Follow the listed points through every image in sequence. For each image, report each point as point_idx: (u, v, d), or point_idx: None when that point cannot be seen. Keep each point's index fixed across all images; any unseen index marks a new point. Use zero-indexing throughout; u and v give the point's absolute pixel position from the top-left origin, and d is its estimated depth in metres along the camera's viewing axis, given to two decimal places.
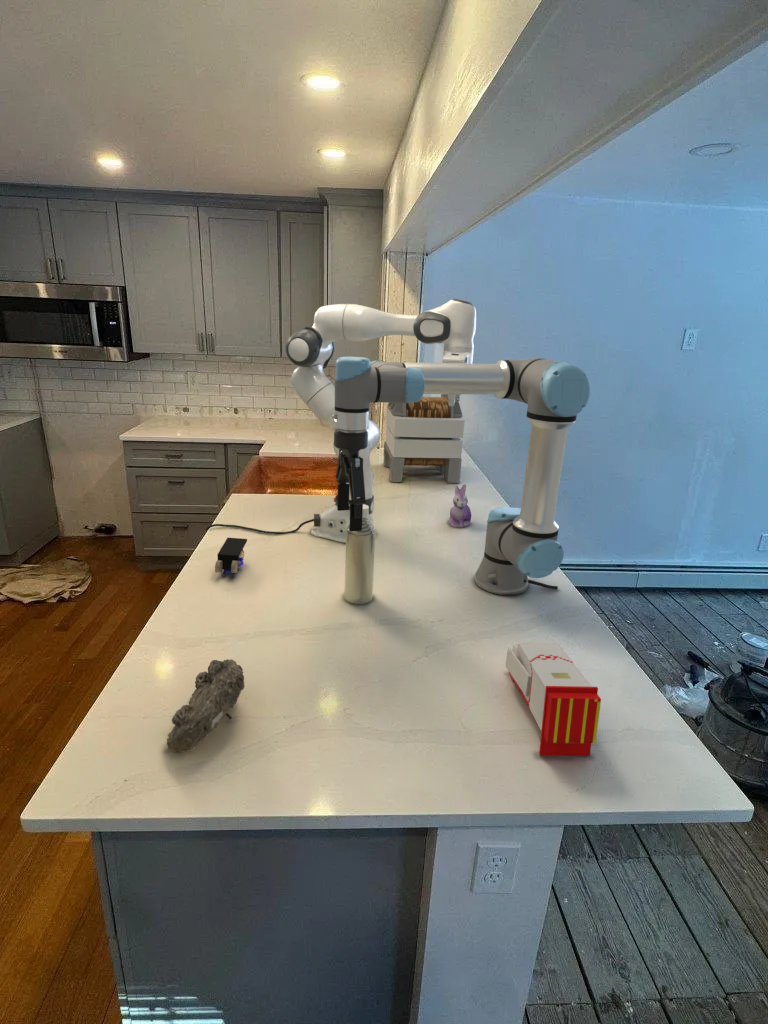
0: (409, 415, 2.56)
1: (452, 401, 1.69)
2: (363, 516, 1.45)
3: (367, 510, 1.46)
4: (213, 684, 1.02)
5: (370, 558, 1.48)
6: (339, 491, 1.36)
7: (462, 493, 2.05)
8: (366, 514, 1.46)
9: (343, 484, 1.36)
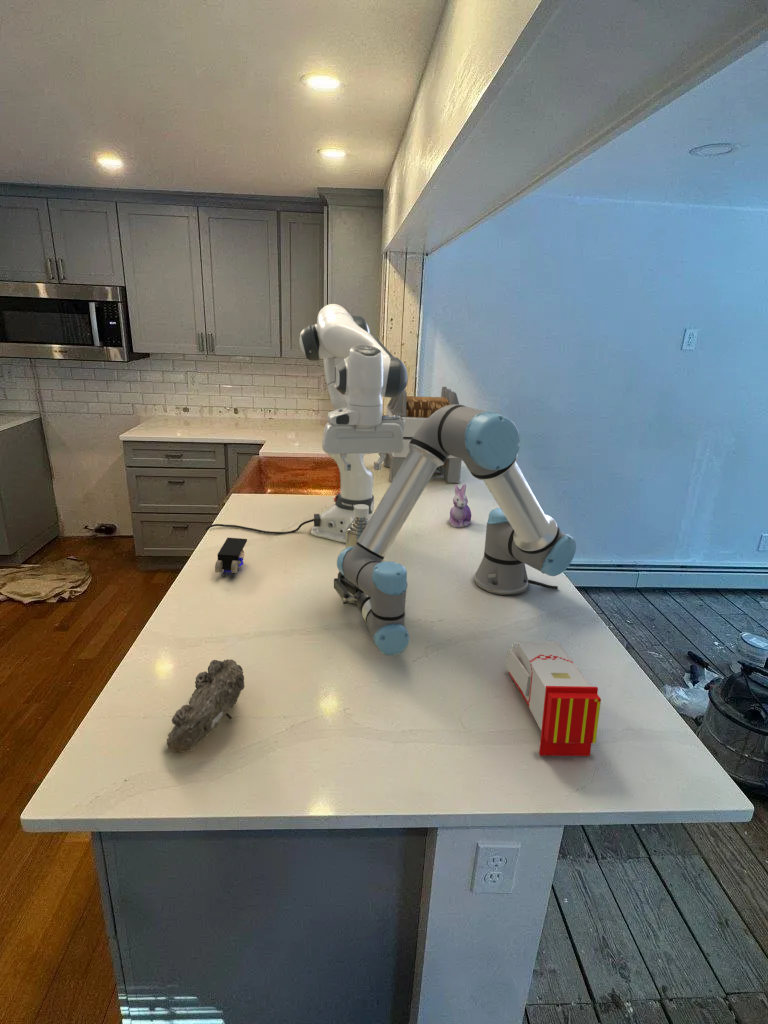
0: (409, 415, 2.56)
1: (344, 465, 1.41)
2: (363, 516, 1.45)
3: (367, 510, 1.46)
4: (213, 684, 1.02)
5: None
6: None
7: (462, 493, 2.05)
8: (366, 514, 1.46)
9: None
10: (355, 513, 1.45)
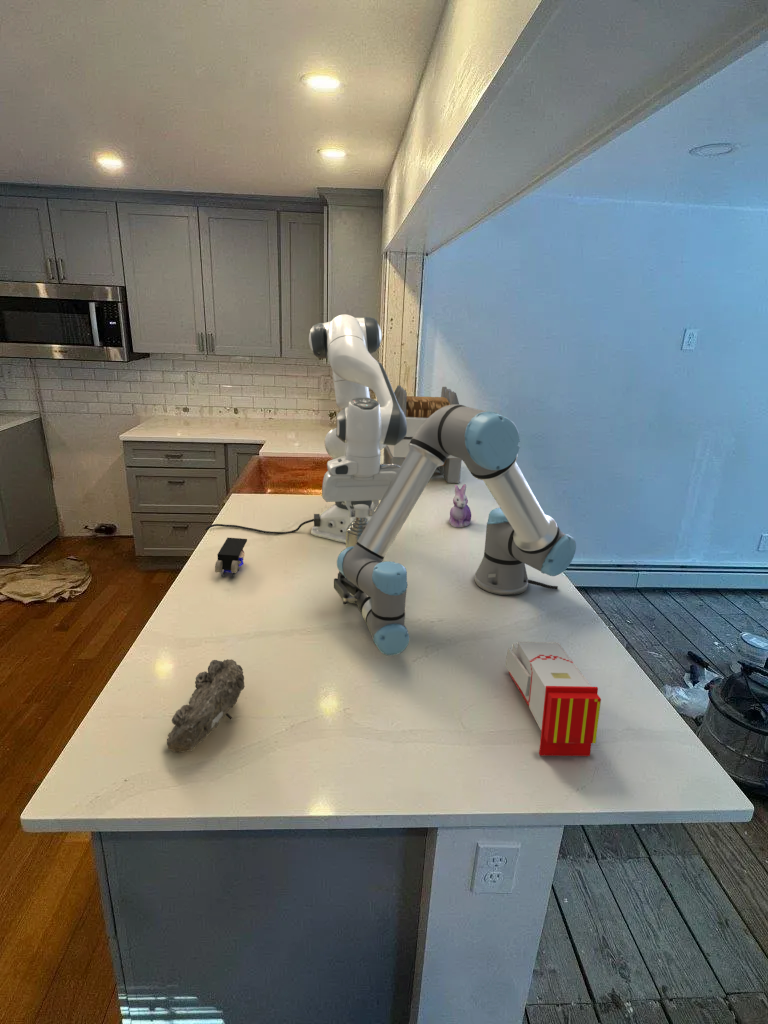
0: (409, 415, 2.56)
1: (349, 511, 1.46)
2: (363, 516, 1.45)
3: (367, 510, 1.46)
4: (213, 684, 1.02)
5: None
6: None
7: (462, 493, 2.05)
8: (366, 514, 1.46)
9: None
10: (355, 513, 1.45)
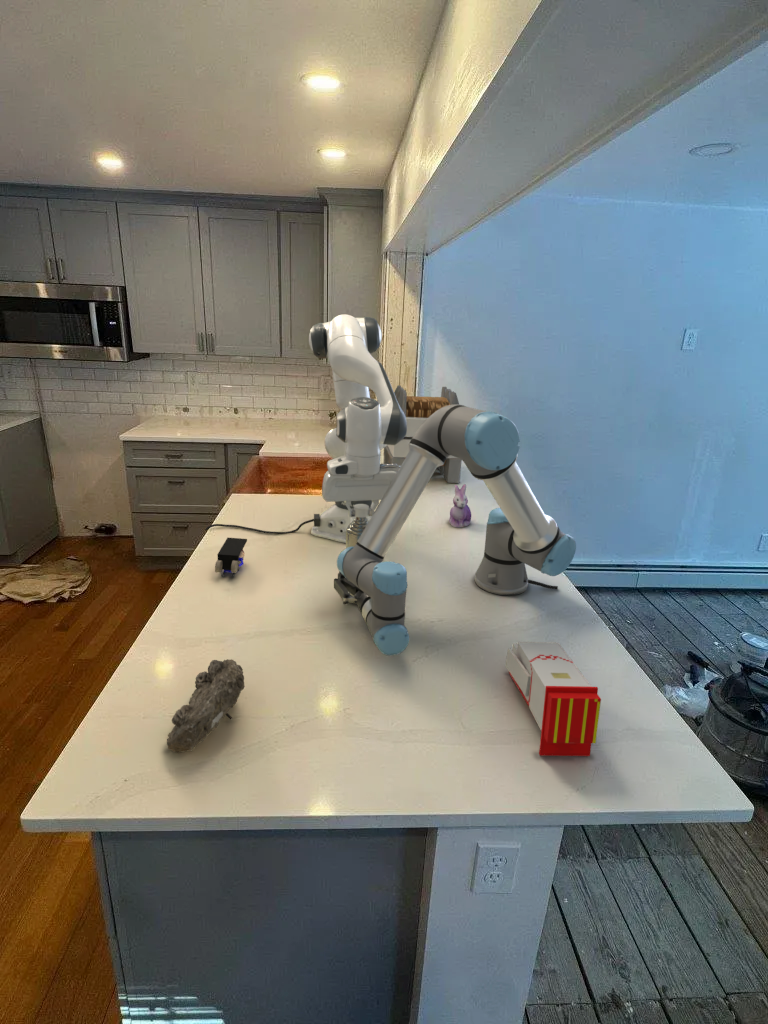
0: (409, 415, 2.56)
1: (349, 511, 1.46)
2: (368, 513, 1.47)
3: None
4: (213, 684, 1.02)
5: None
6: None
7: (462, 493, 2.05)
8: None
9: None
10: (364, 514, 1.45)
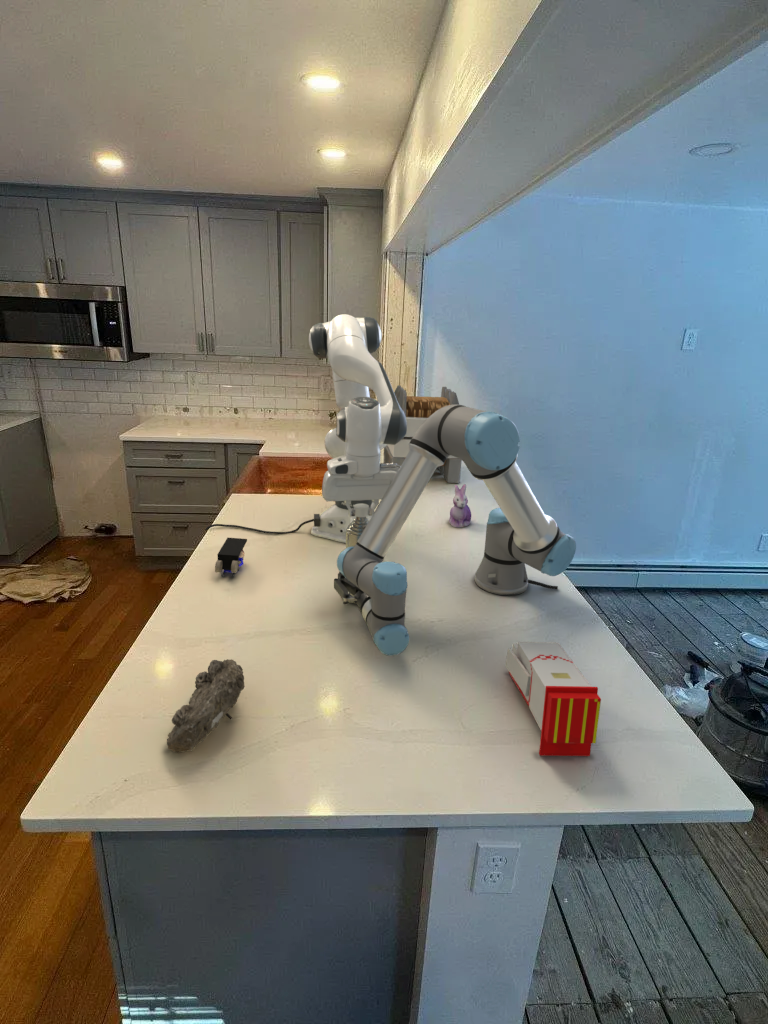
0: (409, 415, 2.56)
1: (349, 511, 1.45)
2: None
3: None
4: (213, 684, 1.02)
5: None
6: None
7: (462, 493, 2.05)
8: None
9: None
10: (368, 511, 1.47)
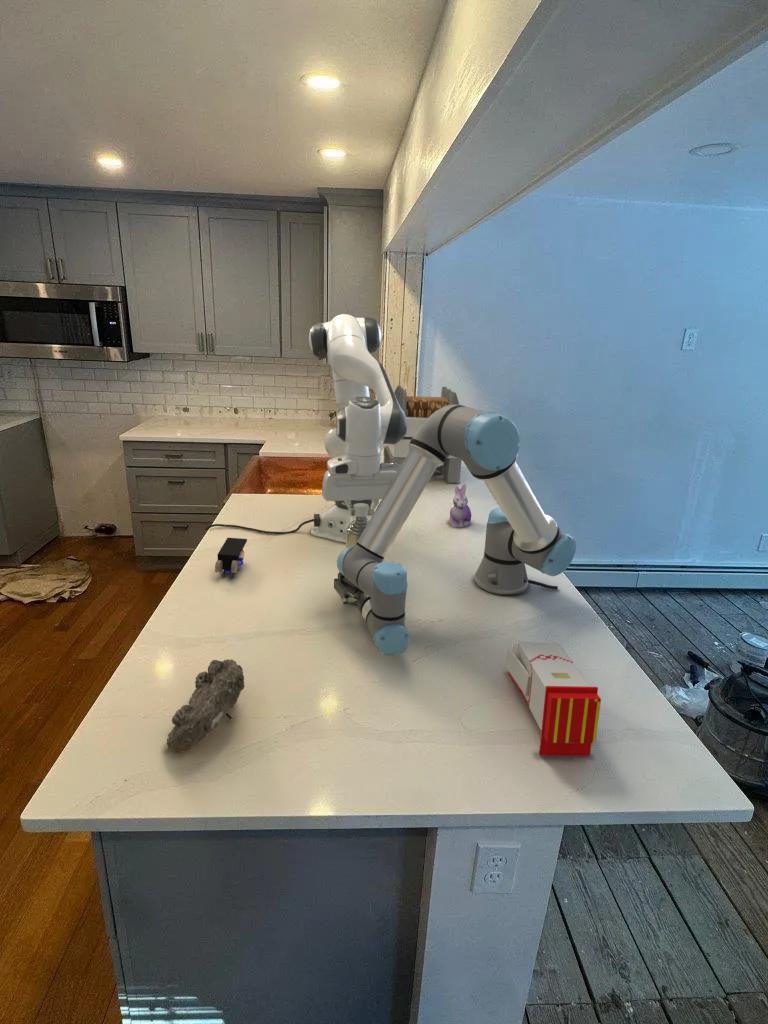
0: (409, 415, 2.56)
1: (349, 510, 1.45)
2: None
3: (354, 507, 1.46)
4: (213, 684, 1.02)
5: None
6: None
7: (462, 493, 2.05)
8: None
9: None
10: None
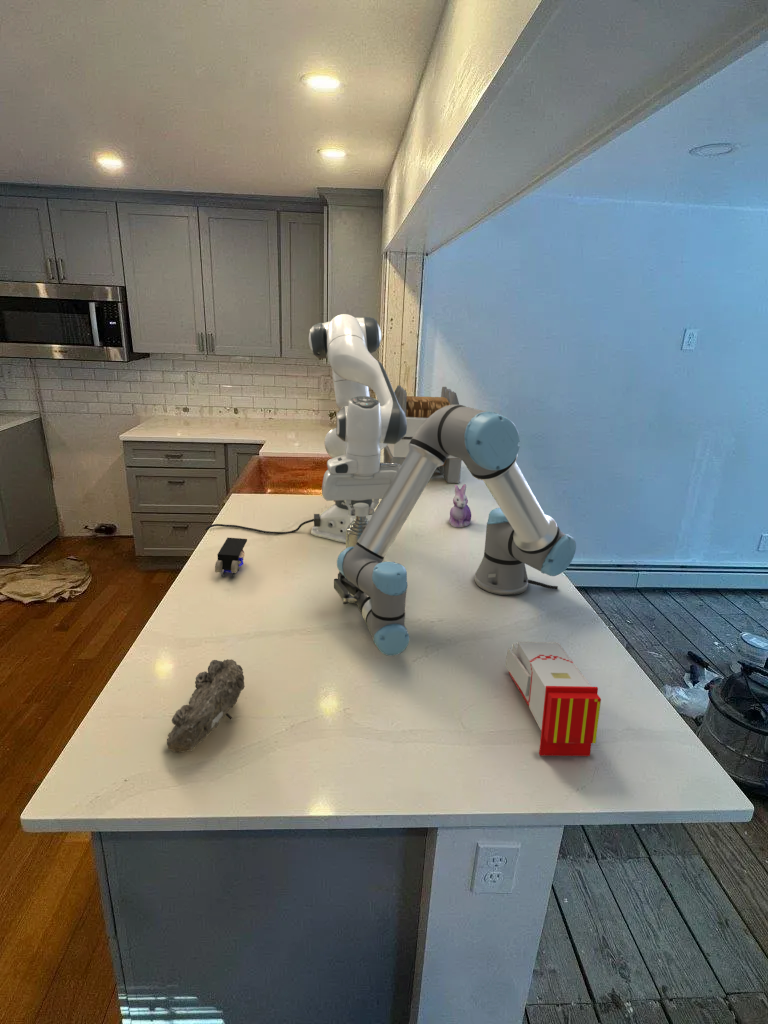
0: (409, 415, 2.56)
1: (349, 510, 1.45)
2: None
3: (358, 510, 1.45)
4: (213, 684, 1.02)
5: None
6: None
7: (462, 493, 2.05)
8: (357, 513, 1.45)
9: None
10: None
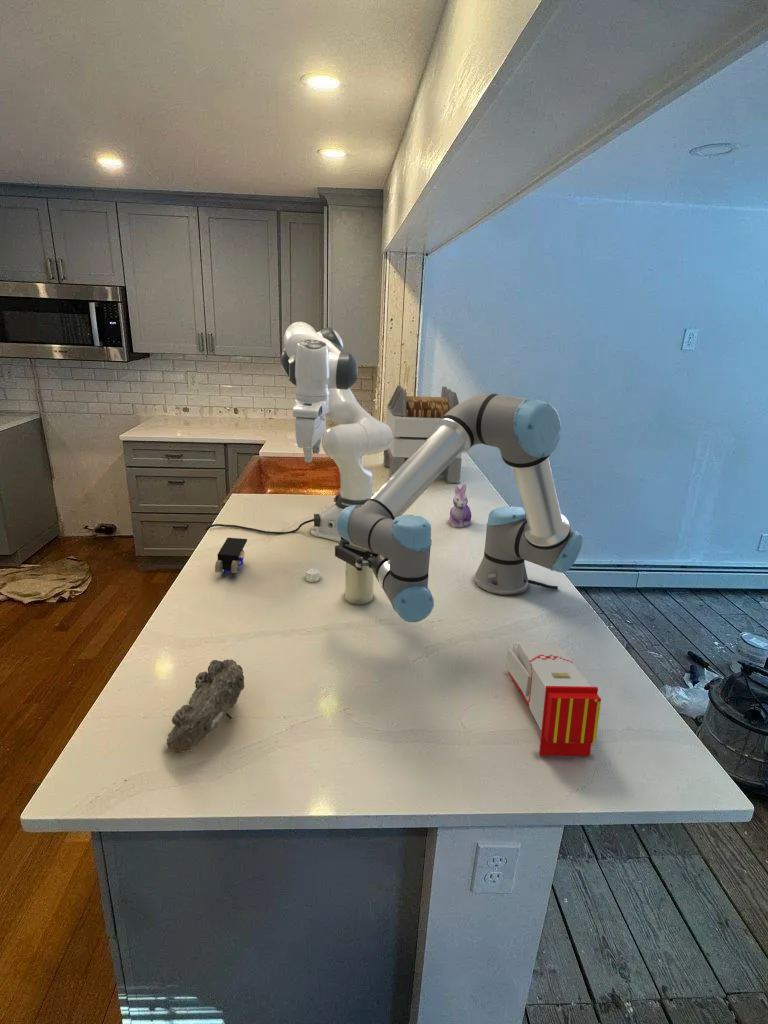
0: (409, 415, 2.56)
1: (309, 457, 1.46)
2: None
3: None
4: (213, 684, 1.02)
5: None
6: None
7: (462, 493, 2.05)
8: None
9: None
10: (313, 578, 1.62)
